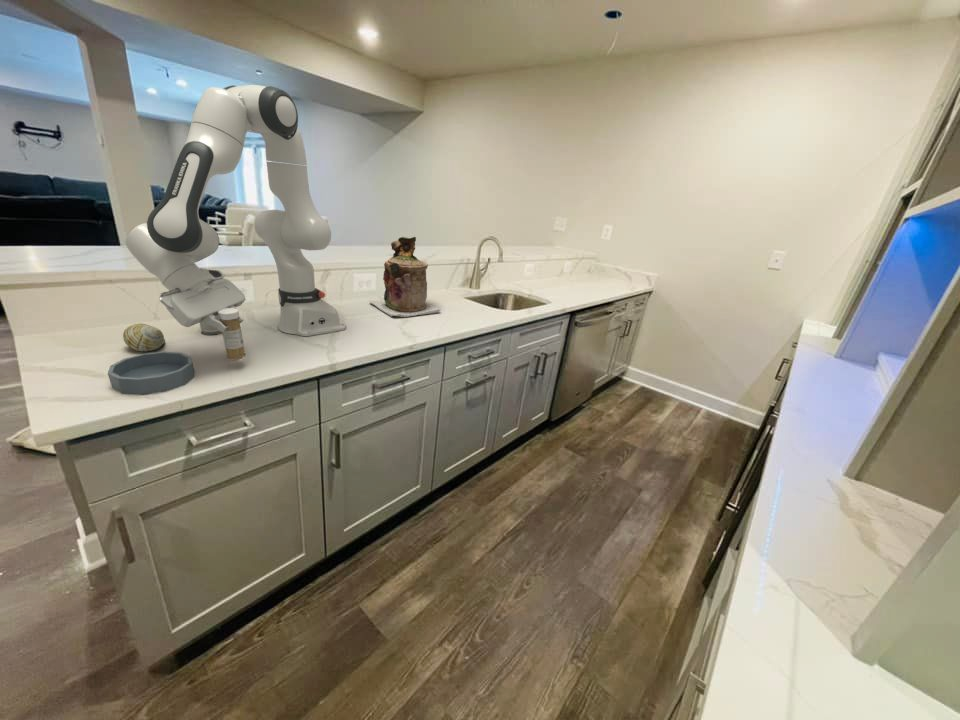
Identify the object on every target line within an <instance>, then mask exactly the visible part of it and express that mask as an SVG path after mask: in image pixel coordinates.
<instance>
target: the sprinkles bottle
mask: <svg viewBox="0 0 960 720" xmlns="http://www.w3.org/2000/svg"><path fill="white" fill-rule="evenodd" d="M239 316H240V312H239V310H238V308H237V309H235V308H225V309H222V310H220V311H218V317H219V319H220V322H225V323H226V324H227V325H228V326H229V328H228V329H227V330H225V331H223V332H222V333H221V334H222V339H223V345H224V348H225V352H226V358H227V360H231V361H235V360H236V361H237V360H241V359H244V358H245V357H246V356H247V355H246V350H245V344H244V343H245V342H244V338H243V332H242V327H241V323H240V322H239Z"/></svg>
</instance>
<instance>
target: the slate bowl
mask: <svg viewBox="0 0 960 720" xmlns="http://www.w3.org/2000/svg"><path fill="white" fill-rule="evenodd" d="M195 375H196V373H195V366H194V361H193V356H190V355H188V354H185V353H183V352H177V351H155V352H145V353H142V354H136V355H133V356H130V357H125V358H123V359H120V360H119V361H117V362H114V363H113V364H111V365H109V369H108V371H107V376H108V380H109V381H110V385H111V388H112V390H114V391H116V392H118V393H120V394H121V395H135V396H136V395H138V396H145V395H151V394H157V393H158V394H159V393H166V392H169V391H172V390H174V389H178V388H180V387H183V386H186V385H187V384H188V383H189V382H191V381H192V380H193V379H195V378H196V376H195Z"/></svg>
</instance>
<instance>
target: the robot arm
mask: <svg viewBox="0 0 960 720" xmlns="http://www.w3.org/2000/svg"><path fill="white" fill-rule="evenodd" d="M296 106H297V105H296V104H295V102H294V100H293V98H292V97H291V95H290V94H289V93H287V92H286V91H285V90H283V89H281V88H278V87H274V86H271V85H270V86H265V85H260V84H247V85H246V84H245V85H244V84H243V85H229V86H226V87H224V88H222V87H218V86H211V87H208V88H206V89H205V90H204V92H203V93H202V95H201V96H200V98H199V100H198V102H197V105H196V107H195V109H194V113H193V116H192V120H191V122H190V127H189V130H188V134H187V138H186V141H185V144H184V146H183V147H182V149H181V150H180V153H179V155H178V157H177V159H176V162H175V165H174V168H173V169H172V170H173V171H172V172H171V173H172V174H171V175H170V179H169V182H168V184H167V187H166V190H165V192H164V195H163V197H162V199H161V201H160V202H159V203H158V204H157V205H156V206H155V207H154V208H153V209H152V211H151V212H150V214H149V215H148V218H147V220H146V223H145V222H143V223H141V224H138V225H136V226H134V227H133V228H131V229H130V231H129V232H128V233H127V235H126V237H125V245H126V248H127V249H128V251H129V252H130V254H131V255H132V256H133V257H134V258H135V259H136V261H138V262H139V264H140V265H141V266H142V267H143V268H144V269H145V270H147V271H148V272H149V273H150V274H152V275H154V276H155V277H157V279H159V281H160V283H161V284H162V286H164V288H166V289H167V290H168V291H163V292H161V293H160V295H159V302H160V303H161V304H162V305H164V307H166V310H167V311H168V312H169V314H170V316H172V317H173V318H174V319H175V320H176V321H177V322H178V323H179V324H180V325H181V326H183V327H185V328H190V327H193V326H194V325H198V324H200V322H202V321H205V322H206V323H207V324H209V325H211V326H214V327H216V328H217V329H219V330H220V331H221V332H223V331H225V330H227V329H228V328H229V326H228V325H227V324H226V323H225V322H220V321H218V320H216V319H215V316H217V315H218V311H220V310H222V309H225V308H235V309H237V310H238V307H240V306H241V305H242V304H243V303H244V302H245V301H246V300H247V299H246V296H245V294H244V293H243V292H242V291H241V290H240V289H239V288H238V286H237V285H235V284H234V283H233V282H232V281H231V280H229V279H228V278H225V274H224V273H223V272H222V271H221V270H218V269H207V268H202V267H199V266H198V265H197V264H196V263H198V262H200V261H202V260H204V259H206V258H208V257H210V256H211V255H214V253H215V252H216V251H218V249H219V246H220V237H219V234H218V232H217V231H216V229H215V228H214V227H213V226H212V225H210V224H209V223H207V222H205V221H204V220H203V219H201V218H200V215H199V209H200V207H201V203H202V200H203V196H204V194H205V191H206V188H207V186H208V183H209V181H210V179H211V178H213V177H214V176H216V175H227V174H230V173H233V172H234V171H235V170H236V168H237V166H238V165H239V163H240V160H241V158H242V155H243V150H244V147H245V141H246V136H247V133H248V132H249V133H253V134H259V135H261V137H262V139H263V141H264V144H265V149H264V150H265V160H266V161H265V162H266V170H267V179H268V187H269V189H270V191H271V193H272V194H273V195H274V196H276V197H277V198H278V200H279V201H280V202H281V204H282V207H283V209H284V210H281V209H265V210H262V211H259V212H258V213H257V214H256V216H255V218H254V221H253V222H254V223H253V225H254V230H255V232H256V234H257V236H258V237H259V238H260V239H261V240H262V241H263V242H264V244H265V245H267V247H268V249H269V251H270V253H271V254H272V257H273V259H274V262H275V265H276V270H277V277H278V286H279V287H278V292H277V294H278V296H277V297H278V303H279V305H280V315H279V322H278V327H277V329H278V330H279V331H280V332H283V333H286V334H290V335H298V336H301V337H310V336H317V335H321V334H322V335H324V334H328V333H334V332H341V331H345V330H346V329H347V325H346V322H345V321H344V319H341V318H340V316H339V312H338V311H337V308H335V307H334V306H333V305H332V304H330V303H328V302H327V301H326V300H324V299H325V297H326V294H325V292H323V291H321V290H320V289H318V288H316V282H315V269H314V266H313V264H312V263H311V262H310V261H309V259H307V258H306V257H305V255H304V254H303V252H302V250H305V251H321V250H325V249H326V248H327V247H329V245H330V243H331V241H332V230H331V226H330V225H329V223H328V222H327V221H326V220H325V219H324V218H323V217H322V216H321V215H320V213H319V212H318V210H317V208H316V206H315V204H314V202H313V199H312V196H311V193H310V186H309V177H308V166H307V155H306V150H305V144H304V140H303V137H302V133H301V131H300V130H299V128H298V125H299V114H298V113H299V112H298V110H297V107H296ZM243 321H244V319H243V318H242V316H241V315H239V322H240V324H242V322H243Z"/></svg>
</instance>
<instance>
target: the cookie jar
mask: <svg viewBox="0 0 960 720" xmlns="http://www.w3.org/2000/svg"><path fill="white" fill-rule="evenodd" d="M416 239H417V237H416V236H412V237H406V236H405V237H404V236H401V237H399V238H398V239H397V240H395V241H391V243H390V246H391V251H394V253H393V256H391V257H389V259H388V260H386V261H385V262H384V264H383V266H384V271H383V278H382V280H383V284H384V289H385V291H384V294H383V300H369V301H368V302H369V303H370V304H371V305H373V306H375V307H376V308H378V310H380V311H381V312H384V313H385V314H387V315H388V316H389V317H391V318H393V317H401V318H407V317H408V318H409V317H413V316H414V317H415V316H421V315H422V316H423V315H428V314H440V311H441V310H442V309H441V308H440V307H437V306H434V305H432V304H428V303H427V302H426V300H427V299H428V298H427V297H428V281H427V269H428V268H429V267H428V265H429V264H428V262H425V261H422V260H420V259H418V257H416V256H415V255H414V252H415V250H416Z"/></svg>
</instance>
